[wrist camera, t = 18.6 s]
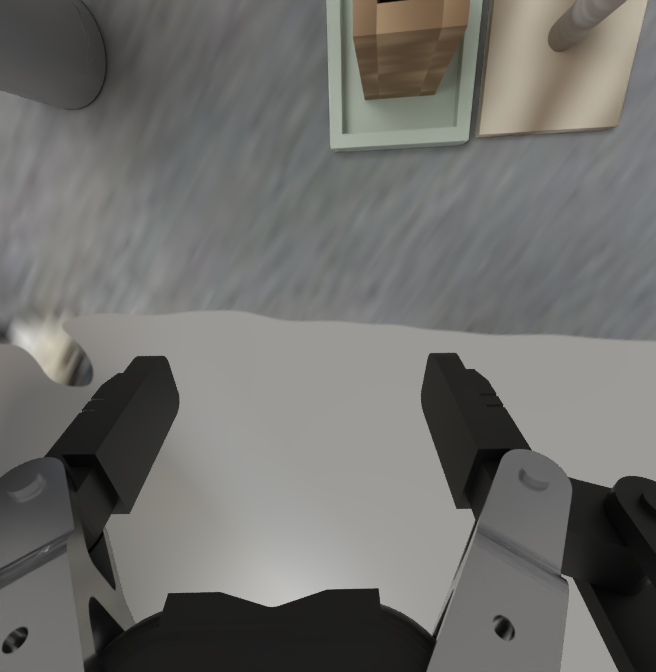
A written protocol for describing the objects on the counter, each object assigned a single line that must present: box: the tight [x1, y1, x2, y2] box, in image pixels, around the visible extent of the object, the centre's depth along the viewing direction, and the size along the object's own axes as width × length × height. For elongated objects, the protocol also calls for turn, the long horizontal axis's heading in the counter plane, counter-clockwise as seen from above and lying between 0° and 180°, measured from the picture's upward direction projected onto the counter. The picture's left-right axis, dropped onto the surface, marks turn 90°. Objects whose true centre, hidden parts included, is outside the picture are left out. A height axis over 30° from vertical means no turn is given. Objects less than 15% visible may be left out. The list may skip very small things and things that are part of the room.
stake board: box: [475, 0, 648, 138], centre depth 22 cm, size 10×12×8 cm
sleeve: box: [353, 0, 470, 100], centre depth 22 cm, size 6×6×12 cm
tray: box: [326, 0, 483, 152], centre depth 27 cm, size 11×13×2 cm
